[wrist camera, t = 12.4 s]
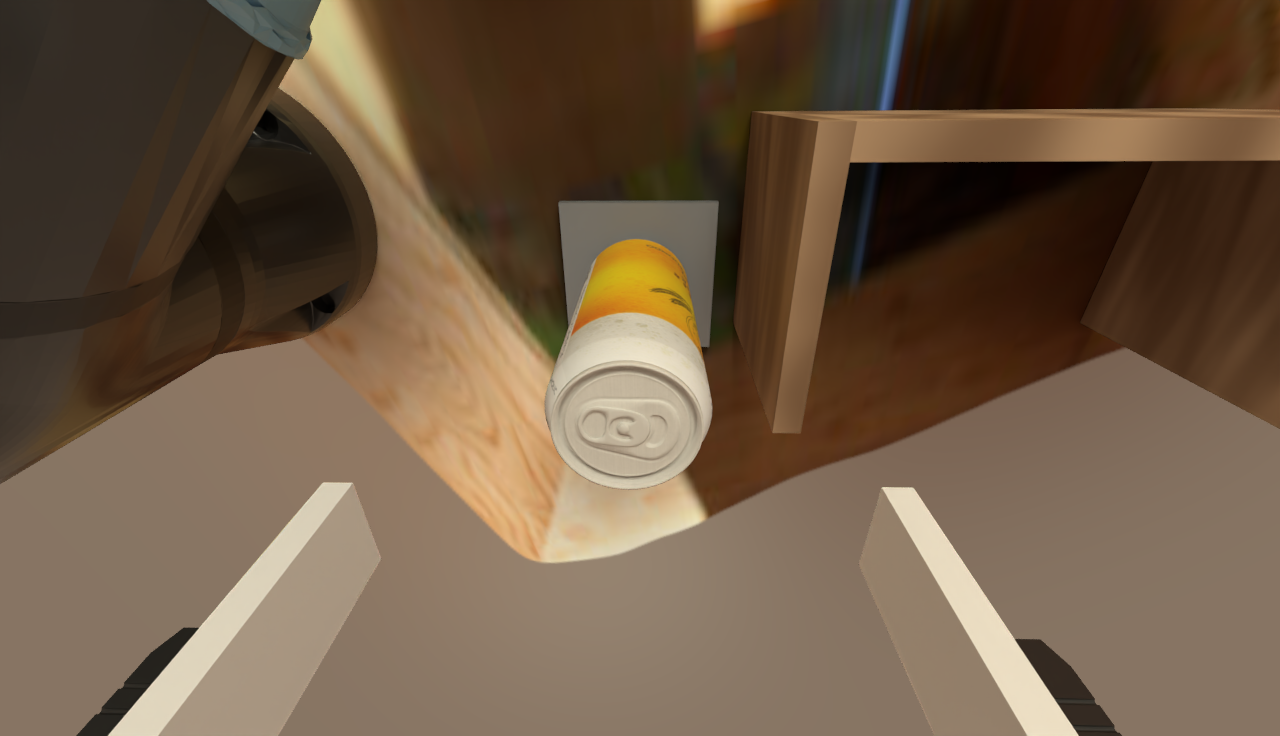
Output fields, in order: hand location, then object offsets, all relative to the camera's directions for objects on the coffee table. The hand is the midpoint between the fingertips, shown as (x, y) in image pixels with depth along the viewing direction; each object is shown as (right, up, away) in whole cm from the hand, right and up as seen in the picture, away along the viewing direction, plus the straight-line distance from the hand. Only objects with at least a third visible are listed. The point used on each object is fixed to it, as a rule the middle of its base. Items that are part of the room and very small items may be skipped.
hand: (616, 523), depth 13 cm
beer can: (0, +9, +18) cm, 20 cm away
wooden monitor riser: (+18, +12, +16) cm, 27 cm away
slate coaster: (+1, +10, +18) cm, 20 cm away
